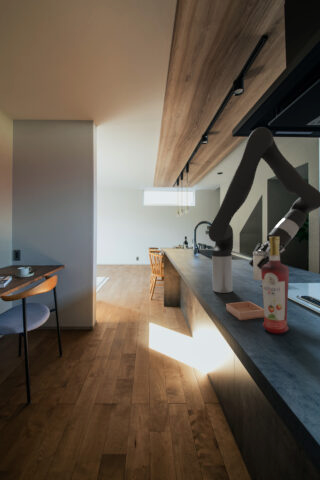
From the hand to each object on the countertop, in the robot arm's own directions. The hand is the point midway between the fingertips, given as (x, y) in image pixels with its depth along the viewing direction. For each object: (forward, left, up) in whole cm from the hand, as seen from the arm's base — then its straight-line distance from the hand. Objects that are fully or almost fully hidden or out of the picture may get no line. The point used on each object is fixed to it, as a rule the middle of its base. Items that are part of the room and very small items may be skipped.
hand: (255, 266), depth 85 cm
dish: (+4, -7, -16) cm, 18 cm away
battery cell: (0, +2, -5) cm, 5 cm away
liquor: (+18, -6, -16) cm, 25 cm away
